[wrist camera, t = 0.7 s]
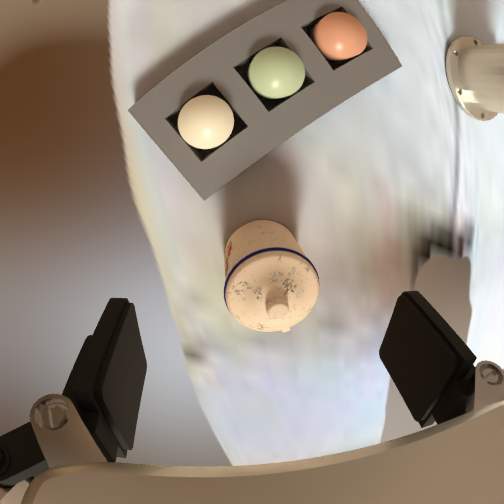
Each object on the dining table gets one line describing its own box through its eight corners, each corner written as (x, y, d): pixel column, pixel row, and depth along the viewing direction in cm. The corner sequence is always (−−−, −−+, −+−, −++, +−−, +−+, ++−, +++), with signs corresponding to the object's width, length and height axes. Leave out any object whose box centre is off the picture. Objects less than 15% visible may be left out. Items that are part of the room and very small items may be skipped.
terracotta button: (336, 13, 23) (347, 5, 21) (363, 49, 25) (376, 45, 23) (300, 31, 24) (309, 23, 22) (329, 68, 26) (339, 64, 24)
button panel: (329, -14, 23) (339, -23, 20) (388, 68, 28) (402, 66, 25) (135, 110, 28) (127, 110, 25) (205, 193, 32) (204, 200, 30)
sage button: (277, 44, 25) (283, 37, 22) (306, 82, 27) (315, 79, 24) (236, 70, 26) (238, 65, 23) (267, 108, 28) (272, 107, 25)
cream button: (212, 87, 26) (211, 84, 24) (242, 125, 28) (245, 126, 26) (171, 118, 27) (166, 118, 25) (202, 155, 29) (200, 160, 27)
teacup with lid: (210, 232, 34) (208, 286, 24) (287, 205, 34) (318, 249, 24) (244, 312, 40) (254, 379, 29) (310, 290, 39) (340, 351, 29)
